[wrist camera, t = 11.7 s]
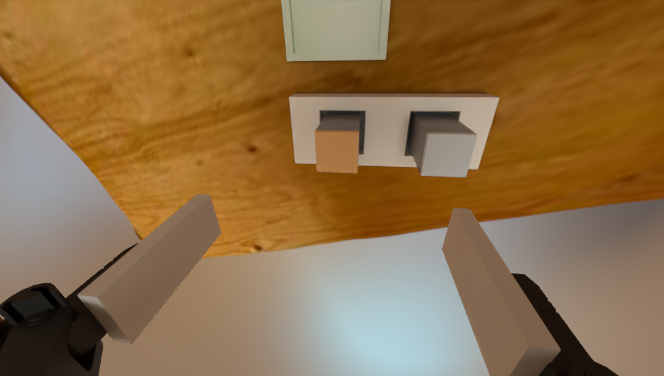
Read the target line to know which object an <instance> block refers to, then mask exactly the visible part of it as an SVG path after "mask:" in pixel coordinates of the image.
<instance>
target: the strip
mask: <svg viewBox="0 0 664 376" xmlns="http://www.w3.org/2000/svg"><path fill="white" fill-rule="evenodd" d="M498 101H499V97H497V96H494V95H491V94H488V93H295V94H293V95H292V96H290V97H289V103H290V114H291V124H292V134H293V144H294V155H295V163H306V164H316V149H315V130H316V129H317V127H318V126H319V124H320V123H321V121H322V119H323V118H324V116H325V115H326V113H327V112H328V111H361V117H360V142H359V157H358V165H366V166H397V167H417V165H416V163H415V161H414V159H413V156H412V154H411V152H410V150H409V147H408V145H407V141H408V134H409V127H410V120H411V112H448V113H449V114H450V115H452V116H453V117H454V118H456V119H457V120H458V121H460V122H461V123H462V124H464V125H465V126H467V127H468V128H469V129H471V130H472V131H473V132H475V133H476V134H477V135H478V136H477V140H476V143H475V147H474V150H473V154H472V157H471V161H470V165H469V168H468V169H478V167H479V164H480V160H481V157H482V154H483V150H484V147H485V144H486V140H487V137H488V134H489V130H490V127H491V124H492V121H493V117H494V114H495V111H496V107H497V104H498Z"/></svg>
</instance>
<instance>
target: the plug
mask: <svg viewBox="0 0 664 376" xmlns="http://www.w3.org/2000/svg"><path fill="white" fill-rule="evenodd" d="M360 117H361V111H328V112H327V113H326V115H325V116H324V118H323V119H322V121H321V123H320V124H319V126H318V127H317V129H316V130H315V149H316V168H317V172H339V173H357V171H358V157H359V142H360Z"/></svg>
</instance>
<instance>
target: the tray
mask: <svg viewBox="0 0 664 376" xmlns="http://www.w3.org/2000/svg"><path fill="white" fill-rule="evenodd" d="M390 1H391V0H281V3H282V14H283V24H284V35H285V45H286V56H287V61H333V60H386V51H387V39H388V26H389V14H390Z"/></svg>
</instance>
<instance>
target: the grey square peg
mask: <svg viewBox="0 0 664 376" xmlns="http://www.w3.org/2000/svg"><path fill="white" fill-rule="evenodd" d="M477 136H478V135H477V134H476V133H475V132H473V131H472V130H471V129H469V128H468V127H467V126H465V125H464V124H462V123H461V122H460V121H458V120H457V119H456V118H454V117H453V116H452V115H450V114H449V113H448V112H411V120H410V127H409V134H408V141H407V145H408V147H409V150H410V152H411V154H412V156H413V159H414V161H415V163H416V165H417V168H418V170H419V172H420V174H421V176H445V177H466V175H467V172H468V168H469V165H470V161H471V157H472V154H473V150H474V147H475V143H476V140H477Z"/></svg>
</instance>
